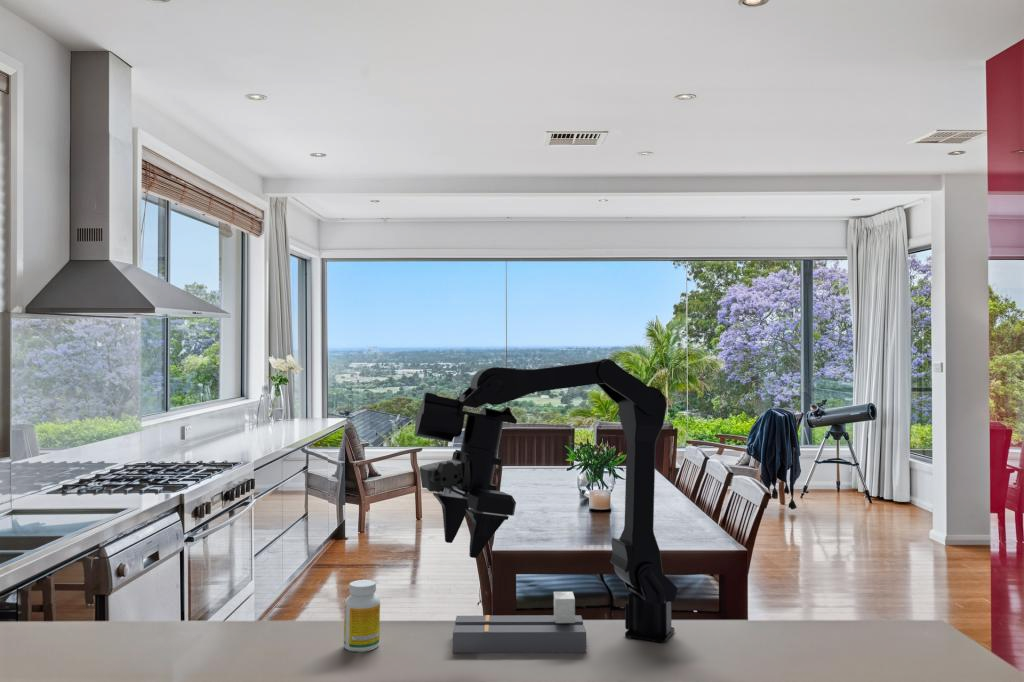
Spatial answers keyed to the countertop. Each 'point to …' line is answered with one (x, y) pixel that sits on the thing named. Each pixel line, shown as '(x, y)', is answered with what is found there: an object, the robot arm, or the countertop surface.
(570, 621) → the fader tab
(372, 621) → the supplement bottle
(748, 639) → the countertop surface
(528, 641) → the fader console
